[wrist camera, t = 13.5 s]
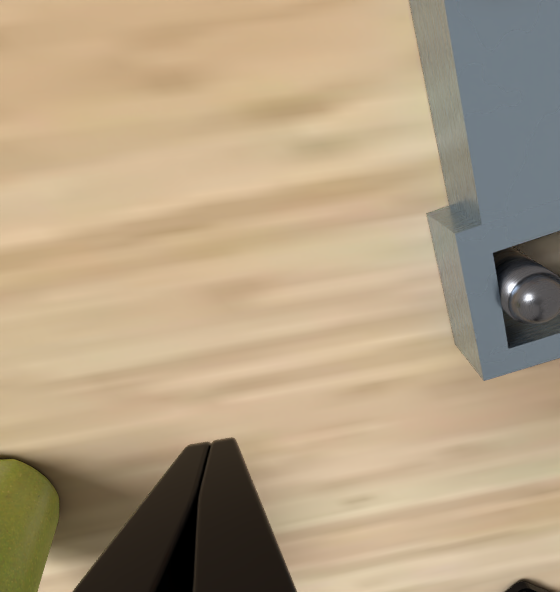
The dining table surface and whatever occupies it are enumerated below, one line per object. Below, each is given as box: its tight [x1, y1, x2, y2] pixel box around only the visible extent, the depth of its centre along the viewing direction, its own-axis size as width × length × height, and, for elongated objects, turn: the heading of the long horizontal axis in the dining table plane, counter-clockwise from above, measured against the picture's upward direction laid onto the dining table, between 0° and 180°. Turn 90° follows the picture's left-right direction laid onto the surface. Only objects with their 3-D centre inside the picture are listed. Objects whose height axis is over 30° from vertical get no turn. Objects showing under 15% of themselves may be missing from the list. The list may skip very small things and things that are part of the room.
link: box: [409, 0, 560, 381], centre depth 15 cm, size 15×6×3 cm, turn 19°
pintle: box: [493, 247, 560, 324], centre depth 17 cm, size 2×2×4 cm
